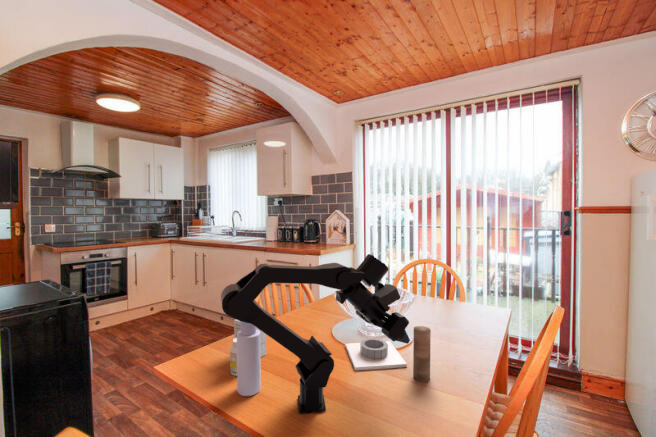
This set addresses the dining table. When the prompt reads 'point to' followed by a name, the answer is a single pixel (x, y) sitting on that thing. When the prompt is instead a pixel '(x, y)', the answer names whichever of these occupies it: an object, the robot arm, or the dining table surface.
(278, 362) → the dining table surface
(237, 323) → the supplement box
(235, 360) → the supplement bottle
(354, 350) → the socket base plate
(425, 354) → the walnut shaft
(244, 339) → the spray bottle
